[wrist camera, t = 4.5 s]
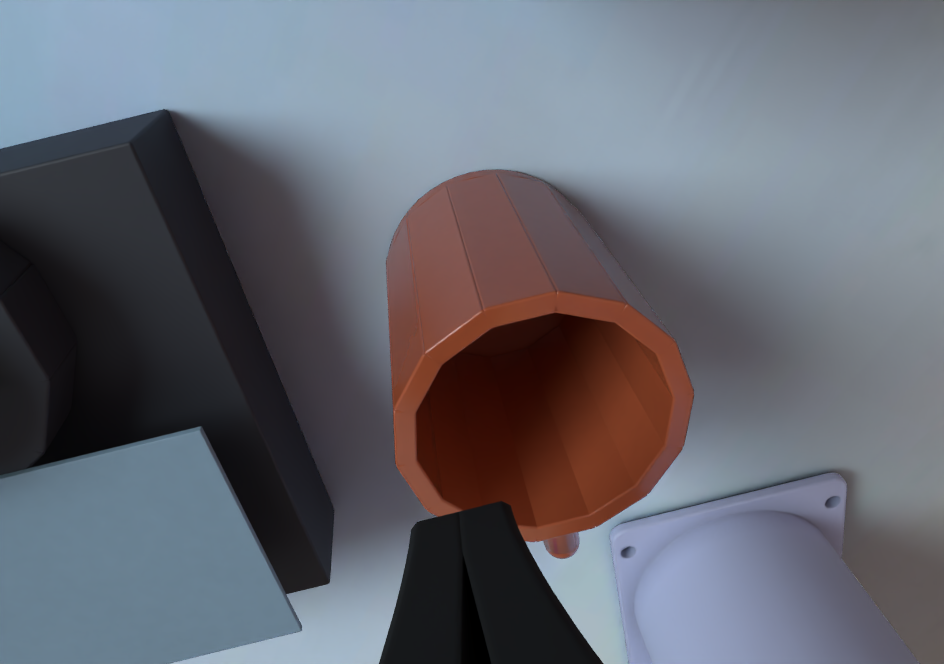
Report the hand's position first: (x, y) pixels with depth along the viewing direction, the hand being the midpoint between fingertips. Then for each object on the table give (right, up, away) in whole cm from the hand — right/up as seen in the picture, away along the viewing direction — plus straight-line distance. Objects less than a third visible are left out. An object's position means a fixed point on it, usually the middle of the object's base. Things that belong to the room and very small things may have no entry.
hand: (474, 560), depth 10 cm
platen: (-9, -2, +6) cm, 11 cm away
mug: (0, +5, +9) cm, 10 cm away
